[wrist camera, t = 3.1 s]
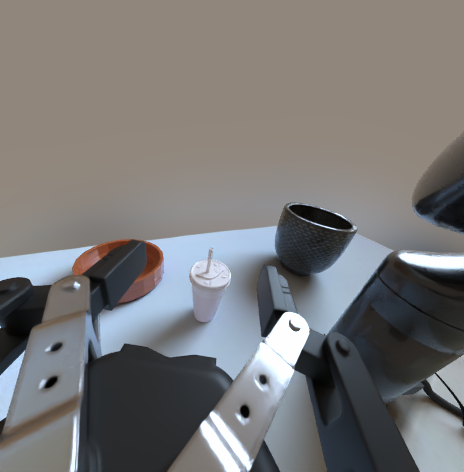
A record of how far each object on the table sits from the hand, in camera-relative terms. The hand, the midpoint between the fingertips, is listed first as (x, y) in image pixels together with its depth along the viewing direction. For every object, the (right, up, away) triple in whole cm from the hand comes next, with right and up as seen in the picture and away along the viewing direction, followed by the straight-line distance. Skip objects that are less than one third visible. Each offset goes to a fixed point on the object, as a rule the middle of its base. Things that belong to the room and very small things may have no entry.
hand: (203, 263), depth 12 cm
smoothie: (-3, -12, +19) cm, 23 cm away
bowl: (-20, -6, +23) cm, 31 cm away
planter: (+20, -7, +38) cm, 44 cm away
